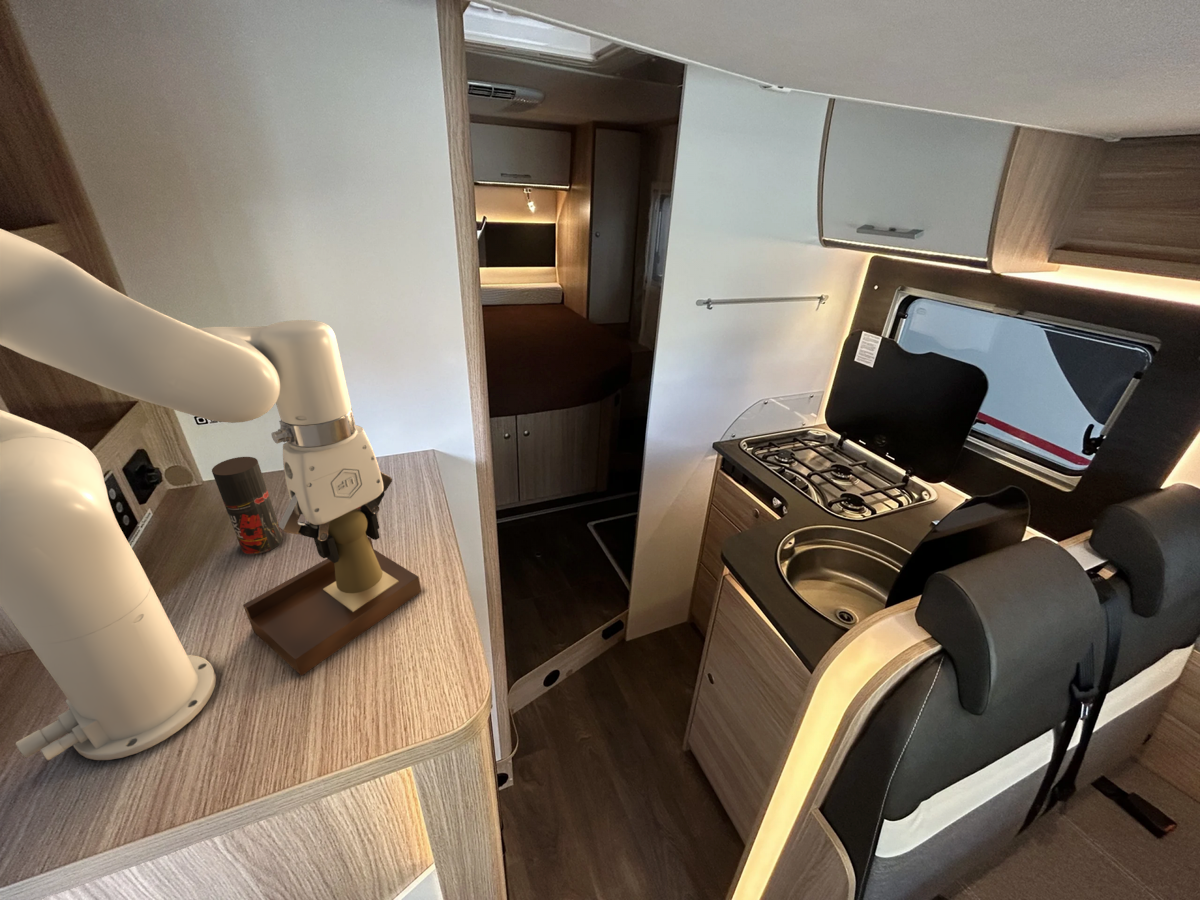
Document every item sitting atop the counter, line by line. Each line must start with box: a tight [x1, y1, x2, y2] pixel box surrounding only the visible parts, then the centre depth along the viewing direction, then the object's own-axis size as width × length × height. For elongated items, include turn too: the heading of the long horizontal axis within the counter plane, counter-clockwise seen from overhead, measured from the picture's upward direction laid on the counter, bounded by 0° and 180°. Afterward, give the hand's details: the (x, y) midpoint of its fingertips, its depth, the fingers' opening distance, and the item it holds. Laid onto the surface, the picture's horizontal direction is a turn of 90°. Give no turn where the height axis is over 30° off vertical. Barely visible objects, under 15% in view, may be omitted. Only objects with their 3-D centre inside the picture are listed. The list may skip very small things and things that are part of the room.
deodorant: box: [211, 456, 284, 555], centre depth 80 cm, size 6×6×15 cm
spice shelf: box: [242, 536, 422, 677], centre depth 70 cm, size 18×12×5 cm, turn 146°
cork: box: [328, 509, 383, 593], centre depth 68 cm, size 6×6×11 cm
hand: (351, 545), depth 68 cm, fingers closed on cork, 5 cm apart
